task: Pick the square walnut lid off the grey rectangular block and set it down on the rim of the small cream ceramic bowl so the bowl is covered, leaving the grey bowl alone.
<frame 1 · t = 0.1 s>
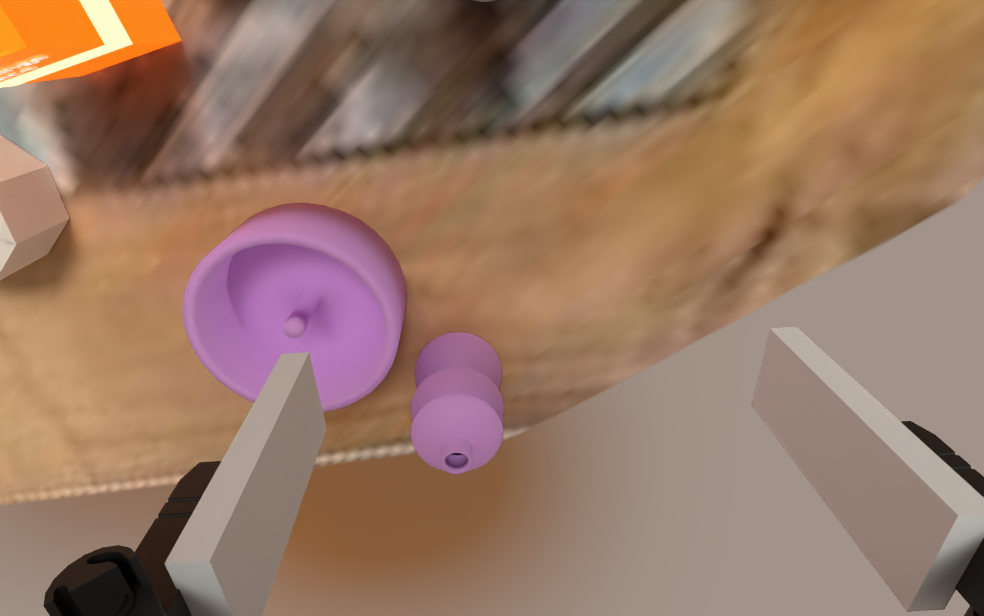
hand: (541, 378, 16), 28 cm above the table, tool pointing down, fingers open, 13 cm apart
container set: (369, 315, 46), on the table
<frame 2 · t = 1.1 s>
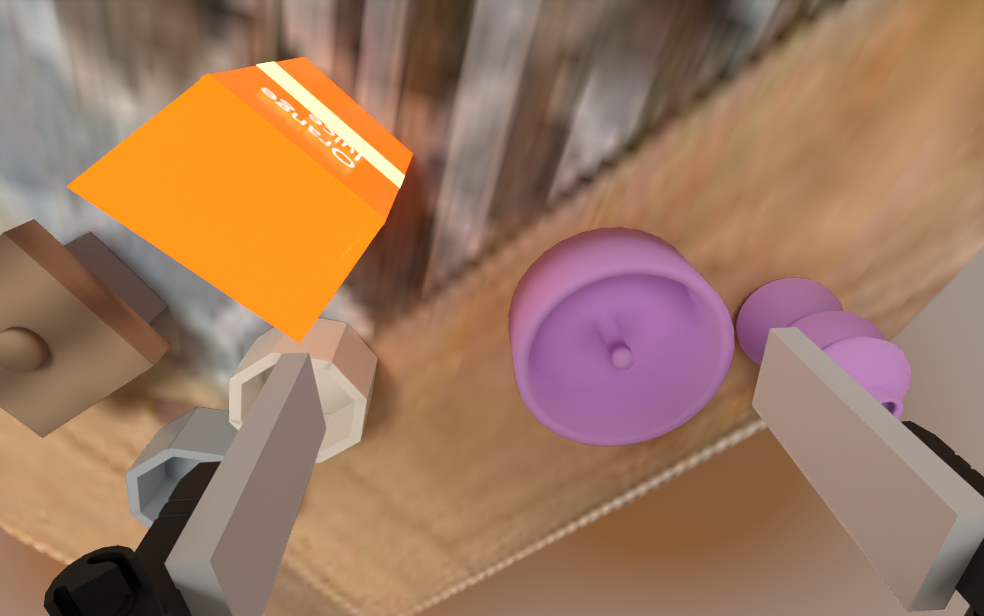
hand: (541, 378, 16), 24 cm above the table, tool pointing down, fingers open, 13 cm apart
grey rectangular block: (88, 300, 40), on the table
grey bowl: (225, 459, 48), on the table
bowl: (316, 368, 44), on the table
lid: (51, 326, 37), point 4 cm above the table, touching grey rectangular block
orange juice: (327, 149, 36), on the table
container set: (662, 313, 43), on the table
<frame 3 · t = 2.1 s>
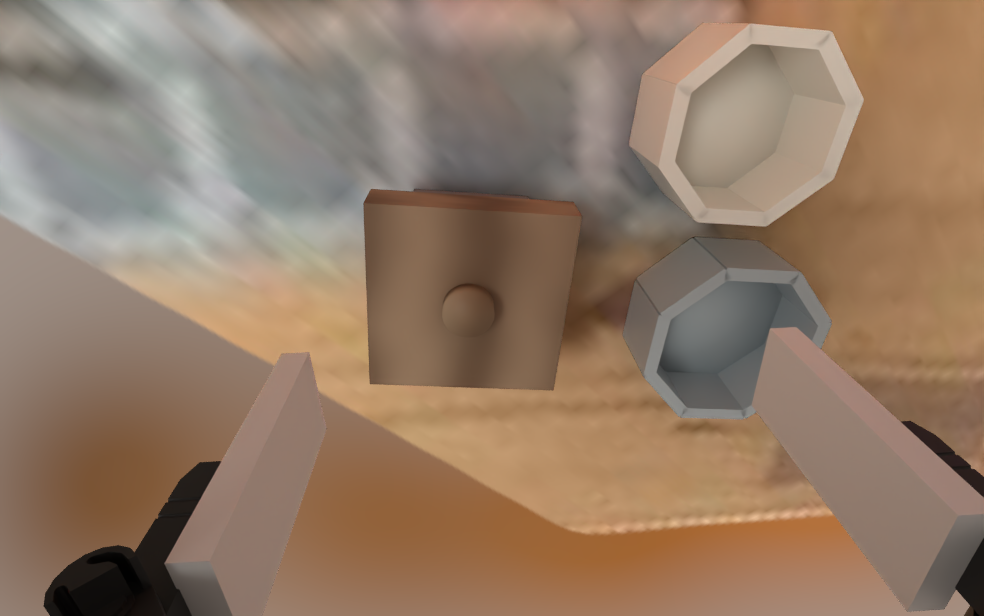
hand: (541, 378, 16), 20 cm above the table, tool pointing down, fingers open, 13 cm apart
grey rectangular block: (467, 259, 35), on the table
grey bowl: (704, 311, 38), on the table
bowl: (713, 116, 32), on the table
lid: (467, 286, 32), point 4 cm above the table, touching grey rectangular block
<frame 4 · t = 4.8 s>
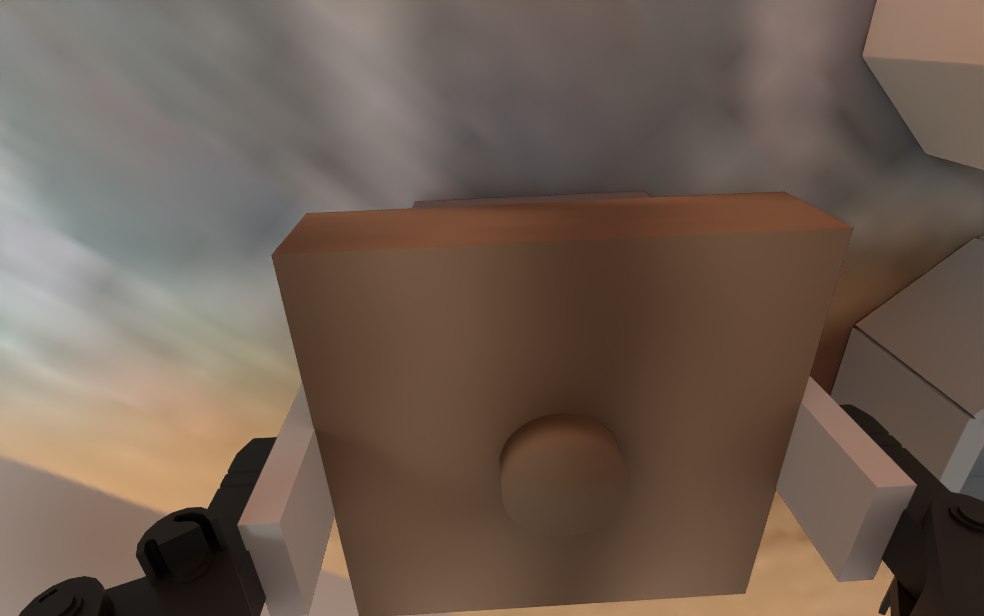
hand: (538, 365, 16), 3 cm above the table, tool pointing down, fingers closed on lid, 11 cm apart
grey rectangular block: (529, 324, 18), on the table
grey bowl: (979, 371, 20), on the table
lid: (544, 395, 15), point 4 cm above the table, touching gripper, grey rectangular block
when the fingers open (6 cm above the table, at t = 10.5 s): lid drops 2 cm, resting on bowl.
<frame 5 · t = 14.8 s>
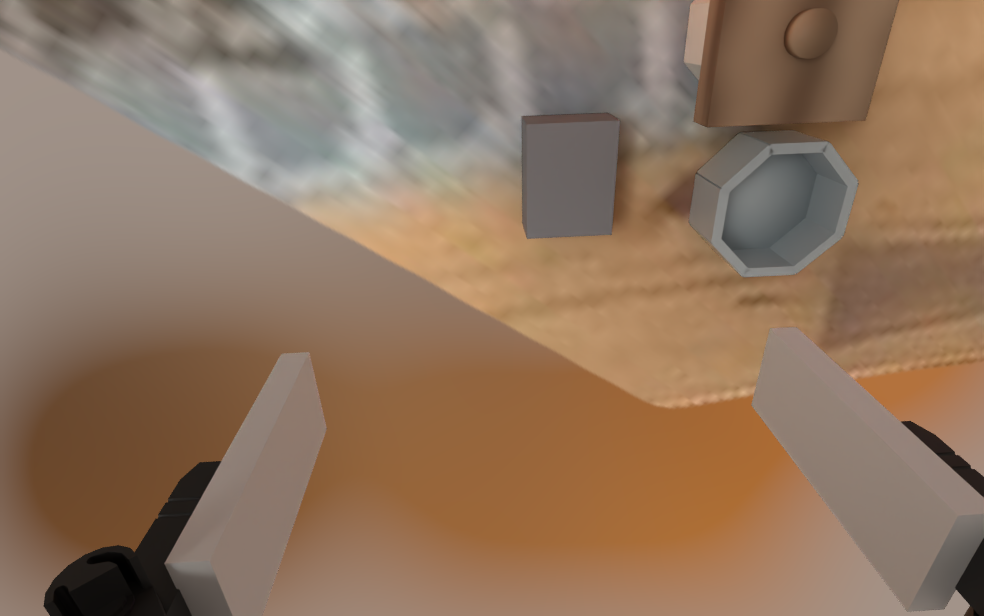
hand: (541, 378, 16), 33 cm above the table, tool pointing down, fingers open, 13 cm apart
grey rectangular block: (563, 170, 46), on the table
grey bowl: (753, 195, 47), on the table
bowl: (748, 31, 41), on the table
lid: (785, 33, 36), point 5 cm above the table, touching bowl
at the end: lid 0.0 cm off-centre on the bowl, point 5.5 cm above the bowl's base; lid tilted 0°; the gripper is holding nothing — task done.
